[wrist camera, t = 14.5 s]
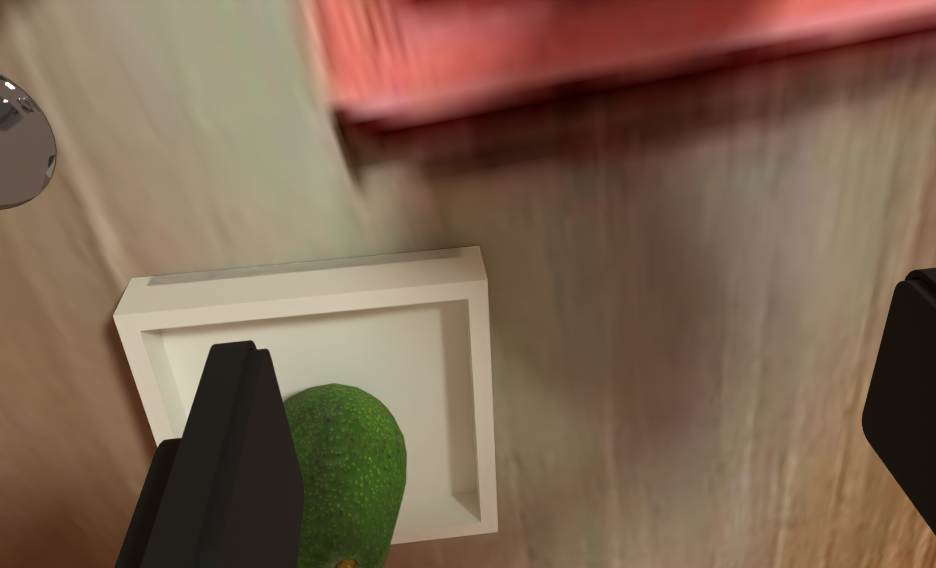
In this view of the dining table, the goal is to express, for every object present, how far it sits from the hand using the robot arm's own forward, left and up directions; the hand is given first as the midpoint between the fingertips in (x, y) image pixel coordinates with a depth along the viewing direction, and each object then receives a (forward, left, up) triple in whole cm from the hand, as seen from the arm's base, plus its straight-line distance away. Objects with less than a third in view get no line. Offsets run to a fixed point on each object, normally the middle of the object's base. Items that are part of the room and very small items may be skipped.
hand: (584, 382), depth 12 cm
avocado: (+8, +22, -27) cm, 35 cm away
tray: (+8, +22, -28) cm, 36 cm away
